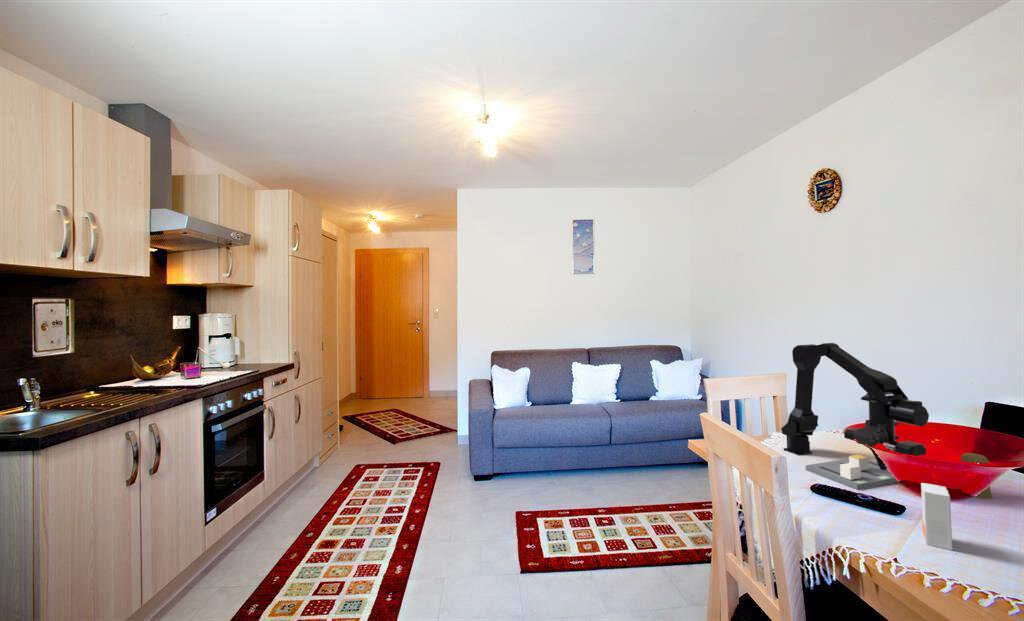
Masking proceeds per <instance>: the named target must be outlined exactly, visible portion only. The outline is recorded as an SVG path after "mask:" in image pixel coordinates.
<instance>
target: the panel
mask: <svg viewBox="0 0 1024 621" xmlns="http://www.w3.org/2000/svg"><path fill="white" fill-rule="evenodd" d="M847 463H849V458H843V459H837V460H831V461H824V462H818V463H813V464H812V463H811V464H806V465H805V471H807V472H810V473H813V474H815V475H818V476H820V477H823V478H825V479H828V480H831V481H833V482H835V483H837V484H841V485H844V486H846V487H849V488H852V489H854V490H857V491H859V490H863V489H864V490H865V489H868V488H869V489H870V488H875V487H881V486H884V485H890V484H896V483H899V482H898V481H897V480H896V479H895V478H894V477H893V476H892V474H891V473H890V472H889V471H888V470H887V469H886V470H881V469H880V467H879V465H878V463H877V461H876V460H873V459H870V458H869V470H863V471H861V478H859V479H853V480H850V479H847V478H844V477H841V476H840V464H847Z"/></svg>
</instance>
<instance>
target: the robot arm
mask: <svg viewBox="0 0 1024 621" xmlns="http://www.w3.org/2000/svg"><path fill="white" fill-rule="evenodd" d="M822 357H826V358H827V359H829V360H831V361H832V362H833V363H835V364H836V365H837V366H839V367H840V368H842V369H843V370H844V371H845V372H847V373H849V374H850V375H851V376H852V377H854V379H856V381H857V383H858V385H859V387H861V388H862V389H863V390H864V391H865V392H866V394H864V395H863V396H861V397H860V400H861V401H866V402H868V419H866V420H865V422H864V423H865V425H864V426H863V427H854V428H846V429H845V430H844V431H843V437H844V439H845V440H846V439H847V440H850V441H854V440H853V439H855V441H856V444H859V445H863V447H866V448H867V449H869V450H870V451H871V453H872V454H873V457H874V458H875V461H877V463H878V465H879V467H880V469H881V470H886V469H887V467H886V466H885V464H884V463H883V461H882V460H881V459H880V458H879V457H878V455H877V454H876V453H875V451H874V450H873V449H872V448H870V447H872V446H875V445H876V444H877V443H878V444H883V445H884V446H885V447H886V448H887V449H888V450H891V451H895V452H898V453H897V454H900V453H902V454H901V455H903V454H908V455H914V457H920V456H924V455H927V448H926V446H925V445H924V444H923V443H919V442H916V441H912V440H906V441H905V440H904V441H897V440H899V435H896V427H898V426H899V423H902V424H906V425H907V424H908V425H911V426H916V427H921V428H922V427H924V426H926V425H927V423H928V421H929V420H930V419H929V416H930V413H929V412H928V409H927V408H926V407H925V406H923V401H920V400H911V399H909V397H908V396H907V395H906V394H905V392H904V391H903V390H902V388H901V387H900V386H899V384H898V381H897V379H896V378H895V377H893V376H891V375H889V374H888V373H885V372H883V371H880V370H877V369H873V368H872V367H869V366H867V365H866V364H865V363H863V362H862V361H860V359H858V358H856V357H855V356H853V355H852V354H850V353H849V352H848V351H846V350H844V349H843V348H841V347H840V345H839V344H837V343H835V342H824V343H823V342H822V343H820V344H815V343H814V344H813V343H812V344H798V345H795V346H794V347H793V348H792V362H793V364H794V365H795V367H796V370H797V371H796V385H795V399H794V400H795V401H794V407H793V409H792V410H791V411H790V413H789V416H788V419H787V422H786V423H785V424H784V425H783V426H782V427H781V428H780V430H781V433H782V435H784V436H786V447H784V448H783V450H784V451H787V452H789V453H791V454H795V455H796V456H797V455H798V456H803V455H808V454H813V451H811V442H810V441H809V439H810V438H809V436H813V434H814V432H815V431H816V429H817V427H819V424H818V422H819V415H817V414H815V413H814V411H813V409H812V406H813V390H814V379H815V378H814V376H815V370H816V368H817V367H818V366H819V364H820V363H821V359H822ZM857 441H858V442H857ZM865 444H867V445H869V446H870V447H868V446H865Z"/></svg>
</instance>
